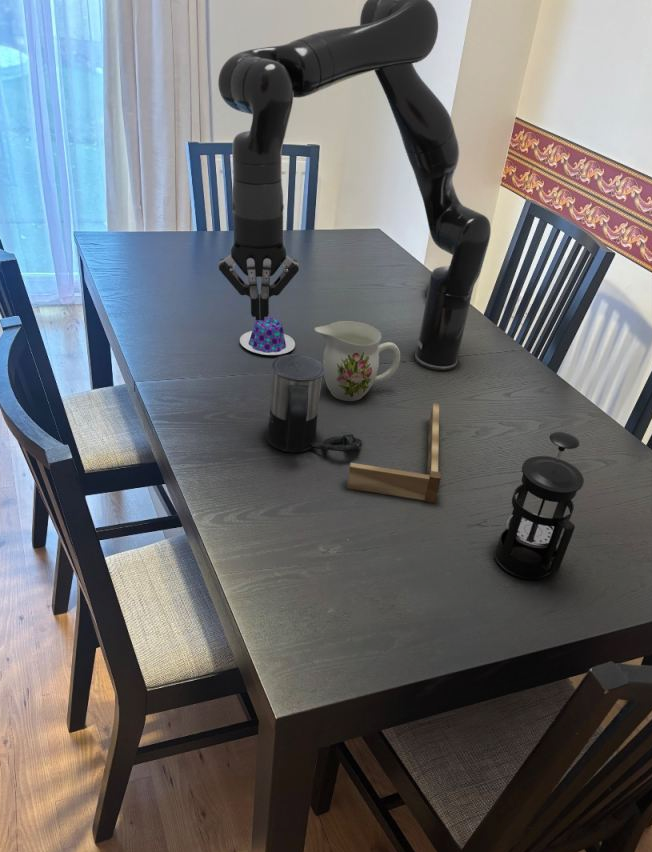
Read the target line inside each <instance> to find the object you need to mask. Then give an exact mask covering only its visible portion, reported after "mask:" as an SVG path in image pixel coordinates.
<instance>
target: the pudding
mask: <svg viewBox="0 0 652 852" xmlns="http://www.w3.org/2000/svg"><path fill="white" fill-rule="evenodd" d="M239 343H240V345H241V346H242V347H243V348H245V350H247V351H250V352H252V353H255V354H260V355H263V356H264V355H265V356H280V355H285V354H287V353H289V352H291V351H293V350H294V349H295V347H296V342H295V340H294V339H293V337H291V336H290V335H288V334H286V333H285V332H284V326H283V324H282V322H281V321H280V320H277V319H276V318H273V317H271V318H270V317H264V320H255V322H254V325H253V328H252V330H250V331H247V332H245V333H244V334H242V335H241V336H240V338H239Z"/></svg>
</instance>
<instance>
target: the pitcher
mask: <svg viewBox="0 0 652 852" xmlns="http://www.w3.org/2000/svg"><path fill="white" fill-rule="evenodd" d="M313 330H314V331H315V333H317V334H319V335H320V336H321V337H322V338H323V340H324V343H325V348H324V352H323V357H322V365H323V366H324V369H325V371H324V373H323V378H324V381H325V384H326V387H327V389H328V390H329V392H330V394H331V395H332V396H333V398H336V399H338V400H341V401H346V402H354V401H358V400H361V399H362V398H363V397H364V396H366V394H367V393H368V392H369V390H370V389H371V387H372V386H373V385H374V384H378V383H381V382H384V381H386V380H388V379H390V378H391V377H392V376H393V375H394V374H395V373H396V372H397V370H398V368H399V365H400V361H401V352H400V349H399V347H398V346H397V344H395V343H394V342H391V341H389V342H383V343H381V341H382V336H383V335H382V333H381V331H380V330H379V329H377V328H376V327H375V326H373V325H370V324H367V323H364V322H361V321H354V320H339V321H334V322H331V323H329V324H326V325H320V326H319V325H318V326H316V327H314V329H313ZM385 350H390V351H392V353H393V362H392V364H391V366H390V367H389V368H388V369H387V370H386V371H384V372H383V373H381V374H378V371H379V367H380V366H379V365H380V353H381V352H383V351H385ZM377 374H378V375H377Z"/></svg>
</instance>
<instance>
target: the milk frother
mask: <svg viewBox="0 0 652 852" xmlns="http://www.w3.org/2000/svg"><path fill="white" fill-rule="evenodd" d="M270 363H271V364H270V367H271V369H272V372H271V373H272V374H271V388H270V400H269V402H270V404H269V417H268V418H269V420H268V426H267V433H266V441H267V442H268V443H269V445H270V446H272V447H273V448H275V449H277V450H279V451H283V452H288V453H297V454H298V453H302V452H307V451H310V450H311V449H313V448H317V449H322V450H326V451H327V450H328V451H333V452H334V451H335V452H336V451H338V452H345V451H351V450H356V449H359V448H361V447H362V446H363V440H362V439H360V438H358V437H355V436H354V434H352V433H346V434H343V435H342V436H333V437H329V438H326V439H325V440H323V441H322V443H321V444H320V443H317V442H318V438H317V428H318V427H317V426H318V415H319V407H320V400H321V399H320V398H321V389H322V380H323V376H324V371H325V369H324V366H323V363H321V362H320V361H319V360H317V359H315V358H314V357H313V358H312V357H311V356H307V355H302V354H282V355H279V356H277V357H275V358H274V359H273V360H272V361H271V362H270ZM337 442H342V445H339V444H334V443H337Z"/></svg>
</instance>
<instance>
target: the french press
mask: <svg viewBox="0 0 652 852" xmlns="http://www.w3.org/2000/svg"><path fill="white" fill-rule="evenodd" d="M549 440H550V441H551V443H552V444H554V445H555V446H557V447H558V448H557V450H558V453H557V457H553V456H548V455H547V456H546V455H537V456H532V457H528V458H527V459H526V460H525V461H524V462H523V463H522V465H521V474H522V476H521V484H519V485H518V486H517V487H516V488H515V489H514V491H513V495H512V497H511V504H512V505H511V506H512V507H513V508H512V513H511V515H510V516H509V517H508V518H507V520H506V529H504V530H503V531H502V532H501V533H500V536H499V539H498V542H497V545H496V546H495V548H494V550H493V558H494V559H493V560H494V561H495V563H496V564H497V566H498V567H499V569H501V571H503V572H504V573H506V574H507V575H509V576H511V577H513V578H516V579H519V580H523V581H529V582H530V581H531V582H534V581H539V580H541V581H542V580H544V579H546V578H547V577H549V576H550V575H551V574H552V573H554V572H558V571H559V570H560V569H561V568H560V567H561V565H562V562H563V560H564V557H565V555H566V552H567V549H568V547H569V544H570V542H571V539H572V537H573V534H574V531H575V528H576V525H575V524H574V523H573V522H572V521H571V518H572V515H573V512H574V509H575V507H574V506H575V505H574V502H573V500H572V499H574V498H575V497H576V496H577V493H578V492H579V491H580V490H581V489H582V488H583V486H584V482H585V480H584V479H585V478H584V477H583V474H582V472H581V471H580V470H579V469H578V468H577V467H575V466H574V465H573V464H571V463H569V462H568V461H565V460H563V459H561V456H562V454H563V453H562V452H564V451H565V450H566V449H567V450H572V449H573V450H574V449H576V448H578V447H580V440H579V439H578V438H577V437H576V436H575V435H573V434H570V433H568V432H565V431H554V432H552V433H550V434H549ZM528 493H530V494H531V495H532V496H534V497H536V498H538V499H541V500H542V501H541V504H540V506H539V509H538V511H537V512H536V513H535V512H531V511H529V510H527V509H525V507H524V505H525V502H526V500H527V495H528ZM516 496H517V497H516ZM546 501H547V502H551V503H553V502H554V503H557V504H556V507H555V509H554V512H553V515H552V517H551V518H550V517H546V516H544V515H542V512H543V511H542V510H543V508H544V506H545V502H546ZM567 508H568V511H569V513H568V514H567V515H565V512H566V510H567ZM564 515H565V516H564ZM517 545H518V546H524V547H527V548H529V549H530V548H531V549H533V550H534V551H536V552H537V553H538V554H540V556H541V557H542V560H541V562H532V561H531V562H530V561H525V560H522V559H520V558H518V557H516V556H514V555H512V554H511V553H512V550H513V547H514V546H517Z"/></svg>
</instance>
